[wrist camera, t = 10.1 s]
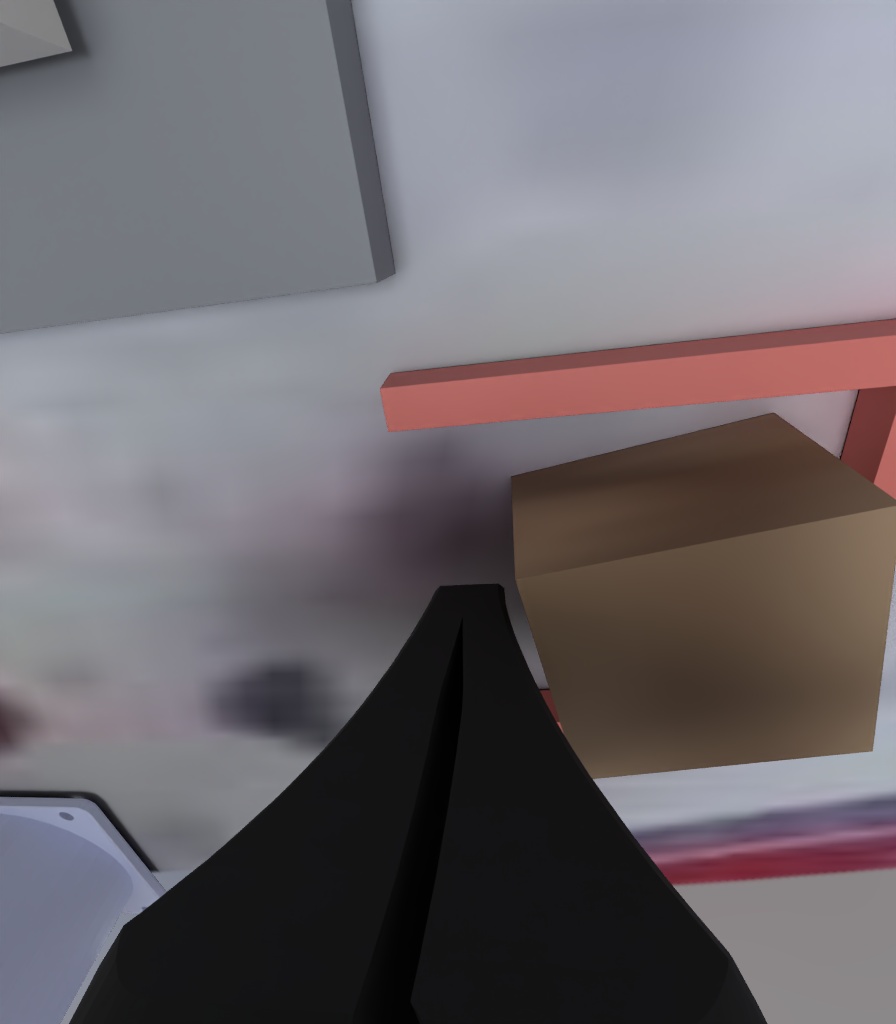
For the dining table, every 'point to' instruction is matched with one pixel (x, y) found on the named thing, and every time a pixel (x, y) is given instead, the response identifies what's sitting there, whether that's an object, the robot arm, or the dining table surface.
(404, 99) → the dining table surface
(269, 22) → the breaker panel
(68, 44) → the switch
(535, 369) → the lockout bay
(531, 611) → the block
